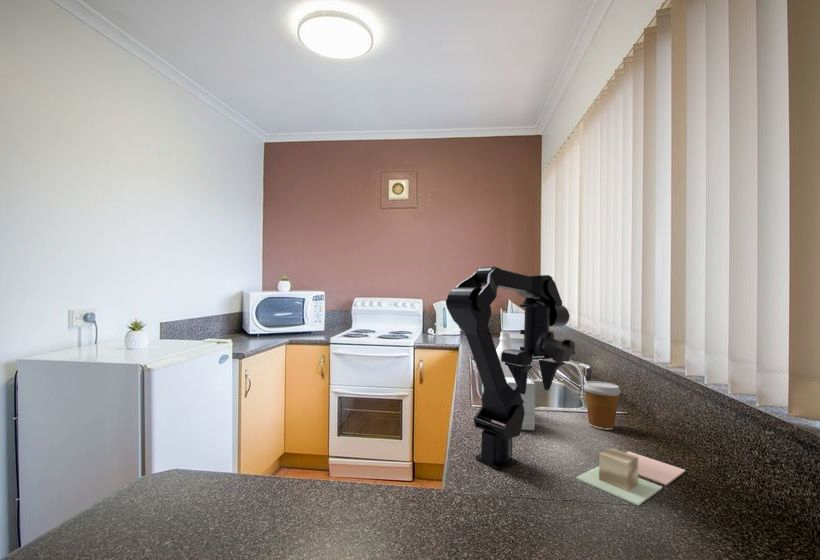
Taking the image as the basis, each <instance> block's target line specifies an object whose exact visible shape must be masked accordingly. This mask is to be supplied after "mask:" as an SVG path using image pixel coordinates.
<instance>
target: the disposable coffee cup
mask: <svg viewBox="0 0 820 560" xmlns="http://www.w3.org/2000/svg"><path fill="white" fill-rule="evenodd" d="M582 388H583V390H584V392H585V393H584V394H585V401H586V410H587V419H588V424H589V423H590V424H592V425H594V426H597V427H602V428H612V427H614V428H615V424H616V418H617V411H618V402H619V398H620V397H619V396H620V395H621V390H620V386H619V385H617V384H614V383H610V382H605V381H597V380H586V381H585V382H584V385H583V387H582Z"/></svg>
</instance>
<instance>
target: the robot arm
mask: <svg viewBox="0 0 820 560" xmlns="http://www.w3.org/2000/svg"><path fill="white" fill-rule="evenodd" d="M498 289H502V290H508V291H513V292H516V293H517V294H518V296H521V297H522V298H524V300H523V301H522V302H521V303H520V304H519V306H520V308H524V322H523V323H524V327H523V328H524V329H520V332H519V333H520V335H523V346H520V347H519V349H516V348H515V349H513V348H512V349H509V350H504V351H503V352H502V353H501V361H502V362H505V365H507V366H508V368H509V370H510V371H511V373H512V375H513V377H514V380H515V382H516V384H517V386H513V385H509V384H507V382H506V379H505V376H504V373H503V370H502V367H501V364H500V361H499V357H498V354H497V351H496V349H497V347H496V345H495V342H494V340H493V337H492V333H491V331H490V330H491V329H490V327H489V323H490V322H489V321H490V318H491V315H492V308H491V305H492V303H493V302H494V301H495V299H496V298H497V296H498V294H497V293H498ZM445 306H446V309H447V310H448V313H449V314H450V317H451V319H452V321H453V322H455V324H456V325H457V326H458V327H460V329H461V330H462V331H463V333H465V336H466V339H467V342H468V345H469V348H470V350H471V354H472V357H473V361H474V363H475V365H476V368H477V372H478V374H479V376H480V380H481V383H482V386H483V388H484V389H483V392H482V394H481V398H480V399H481V406H480V407H479V409H478V410H477V412H476V414H475V416H474V417H473V423H474V426H475V428H476V429H480V430H481V446H480V447H481V449H480V450H481V451H480V454H476V455H475V457H474V458H475V460H478V461H480V462H482V463H484V464H486V465H488V466H489V467H492V468H494V469H496V470H501V469H502V470H503V469H504V468H508V467H509V466H513V465H515V464H518V459H516V458H513V439H514V438H517V437H519V436H521V432H522V429H521V428H522V424H523V419H524V414H525V412H524V406H523V404H522V403H524V401H523V399H522V397H521V394H525V392H526V384H527V378H528V373H529V372H530V370H531V369H532V368H533V365H531V364H532V362H533V361H537V360H538V364H539V370H540V375H541V380H542V385H543V388H544V390H545V391H550V388H551V386H552V384H553V380H554V378H555V375H556V373H557V371H558V369H559V368H561V367H562V366H565V364H566V363H567V362H570V358H571V356H575V355H576V351H575V350H576V347H575V342H574V341H573V340H572V339H564V340H563V341H562V340H557V339H555V333H554V332H553V331H550V327H552V328H553V327H555V328H556V327H563V326H565V325H567V324H568V322H569V320H570V316H571V315H570V313H569V310H568V308H567V307H565V306H564V305H563V301H562V299H561V295H560V293H559V290H558V286H557V285H556V282H555V280H554V279H553V277H552V276H551V275H549V274H545V275H544V274H543V275H540V274H539V275H526V274H521V273H518V272H514V271H510V270H507V269H501V268H499V267H497V266H488V267H487V266H485V267H480V268H477V269H476V270H475V271H474V272H473V273H472V275H470V276H468V277H467V278H465V279H464V280H462V281H461V282H459V283H458V284H457V285H456V286H455V287H453V288H452V289H451V290H449V293H448V294H447V298H445ZM493 421H494V422H493ZM496 422H498V423H496ZM499 423H500V424H499ZM502 424H503V425H502Z"/></svg>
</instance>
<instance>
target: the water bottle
mask: <svg viewBox="0 0 820 560" xmlns="http://www.w3.org/2000/svg"><path fill="white" fill-rule="evenodd" d="M511 340H512V339H511V332H508V331H500V336H499V344H498V346H497V347H496V351H497V354H498V357H499V361H500V364H501V367H502V370H503V373H504V376H505V377H511V378H514V377H513V375H512V373H511V371H510V370H509V368H508V366H507V365H505V362H502V361H501V353H502V352H503V351H504V350H509V349H513V347H512V345H511Z"/></svg>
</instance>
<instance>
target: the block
mask: <svg viewBox="0 0 820 560" xmlns="http://www.w3.org/2000/svg"><path fill="white" fill-rule="evenodd" d="M598 454H599V455H598V456H599V457H598V459H599V460H598V461H599V462H598V463H599V464H598V466H599V480H601V481H603V482H606V483H608V484H610V485H613V486H615V487H618V488H620V489H623V490H625V491H629V490H630V489H632V488H633V487H635V486H636V485H638V478H639V475H638V457H636V456H633V455H630V454H627V453H626V452H624V451H621V450H618V449H616V448H612V447H610V448H608V449H605V450H603V451H602V452H599V453H598Z"/></svg>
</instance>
